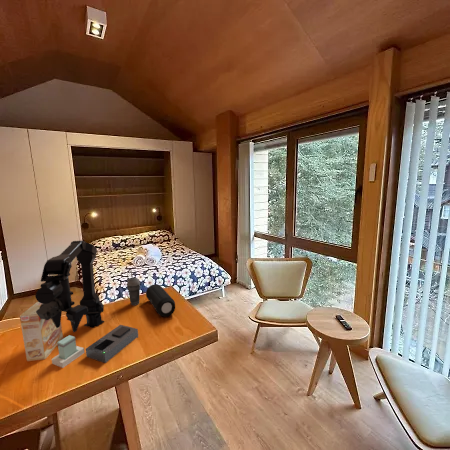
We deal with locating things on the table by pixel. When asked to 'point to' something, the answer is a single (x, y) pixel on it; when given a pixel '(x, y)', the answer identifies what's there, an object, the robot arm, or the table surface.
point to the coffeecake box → (38, 334)
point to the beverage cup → (134, 290)
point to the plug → (67, 347)
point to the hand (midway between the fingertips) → (66, 329)
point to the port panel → (111, 343)
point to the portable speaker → (160, 300)
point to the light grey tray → (62, 362)
